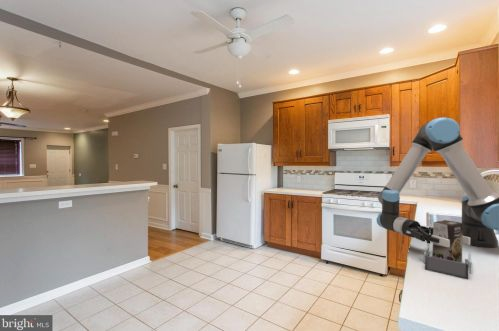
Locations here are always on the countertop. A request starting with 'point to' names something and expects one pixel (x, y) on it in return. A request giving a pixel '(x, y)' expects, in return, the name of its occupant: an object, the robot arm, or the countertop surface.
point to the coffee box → (452, 233)
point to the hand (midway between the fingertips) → (459, 242)
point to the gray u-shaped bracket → (447, 265)
